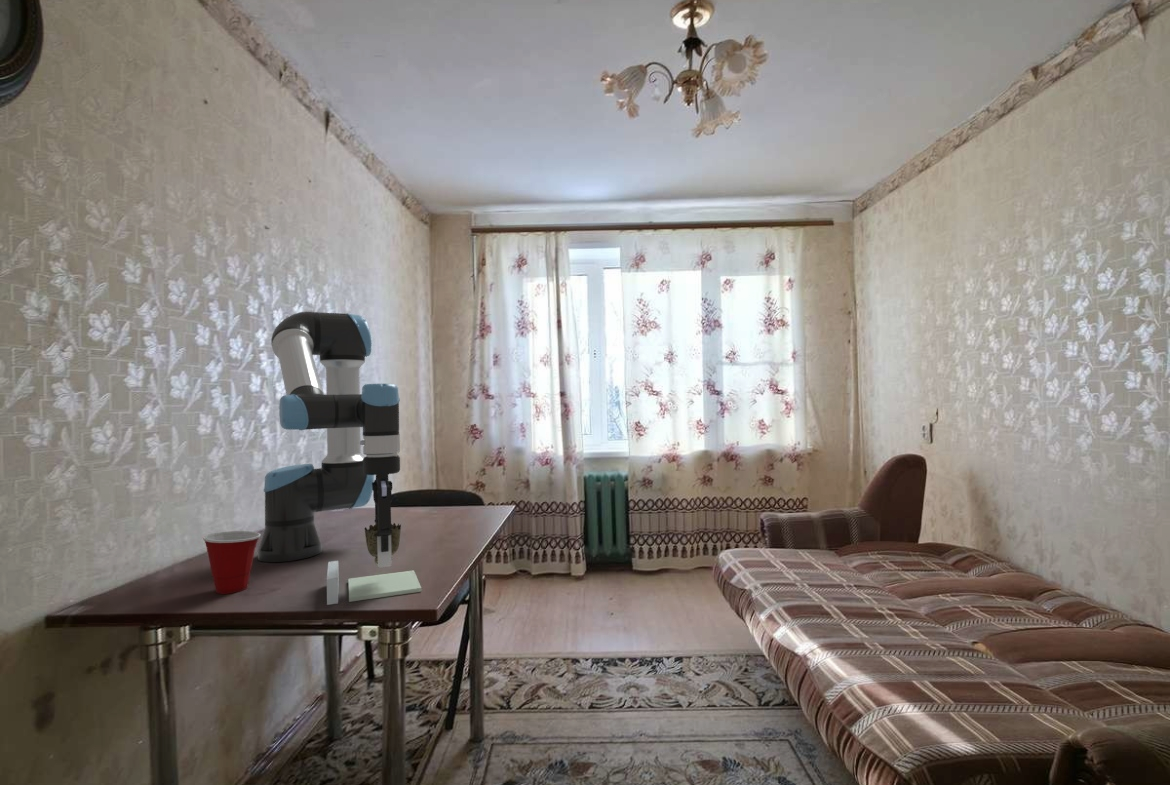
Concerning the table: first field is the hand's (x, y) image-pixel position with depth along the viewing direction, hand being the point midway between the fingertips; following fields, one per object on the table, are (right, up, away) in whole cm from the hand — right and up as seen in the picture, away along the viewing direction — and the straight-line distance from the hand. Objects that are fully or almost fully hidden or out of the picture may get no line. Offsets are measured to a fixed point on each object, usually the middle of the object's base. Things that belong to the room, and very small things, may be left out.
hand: (383, 562), depth 126 cm
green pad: (0, -5, 0) cm, 5 cm away
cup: (0, 0, 0) cm, 0 cm away
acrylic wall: (-9, -5, -4) cm, 11 cm away
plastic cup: (-33, -6, +1) cm, 33 cm away
